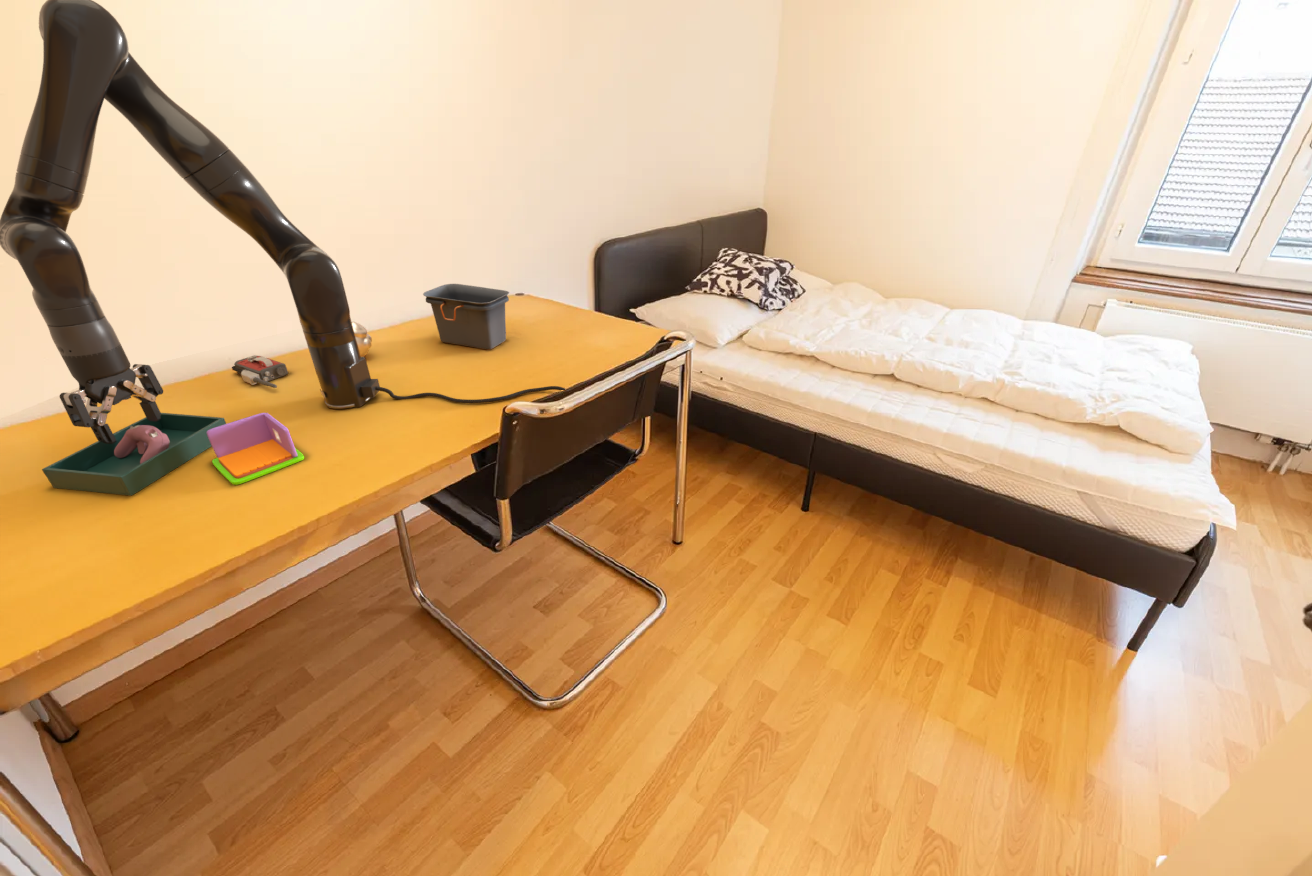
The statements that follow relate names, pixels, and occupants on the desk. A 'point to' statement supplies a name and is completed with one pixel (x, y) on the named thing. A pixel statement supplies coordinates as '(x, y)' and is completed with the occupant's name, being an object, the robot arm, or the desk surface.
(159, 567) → the desk surface
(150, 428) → the video game controller
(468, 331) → the storage bin
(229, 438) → the dollhouse room
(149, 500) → the desk surface
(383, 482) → the desk surface
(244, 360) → the walkie-talkie
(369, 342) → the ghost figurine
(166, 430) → the tray
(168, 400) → the desk surface
